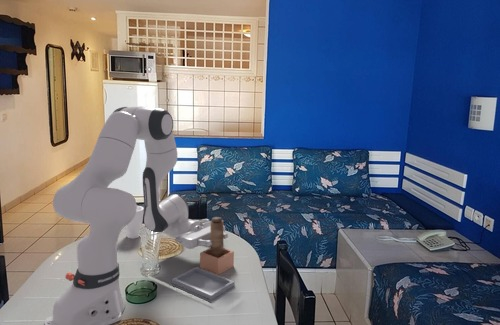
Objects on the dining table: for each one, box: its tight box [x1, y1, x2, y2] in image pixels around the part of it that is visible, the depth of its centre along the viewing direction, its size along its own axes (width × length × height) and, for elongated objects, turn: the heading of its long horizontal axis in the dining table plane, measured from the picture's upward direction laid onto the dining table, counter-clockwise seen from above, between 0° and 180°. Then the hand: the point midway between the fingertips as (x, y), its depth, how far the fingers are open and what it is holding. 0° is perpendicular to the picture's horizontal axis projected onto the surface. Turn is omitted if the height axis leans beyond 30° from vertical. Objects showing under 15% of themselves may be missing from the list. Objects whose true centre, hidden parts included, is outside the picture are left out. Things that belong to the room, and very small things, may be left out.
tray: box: [171, 266, 236, 303], centre depth 135 cm, size 12×18×2 cm, turn 54°
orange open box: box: [199, 247, 235, 276], centre depth 148 cm, size 9×9×7 cm
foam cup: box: [124, 205, 144, 239], centre depth 179 cm, size 10×9×13 cm
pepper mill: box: [210, 216, 224, 258], centre depth 147 cm, size 5×5×19 cm
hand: (218, 240), depth 146 cm, fingers open, 8 cm apart
